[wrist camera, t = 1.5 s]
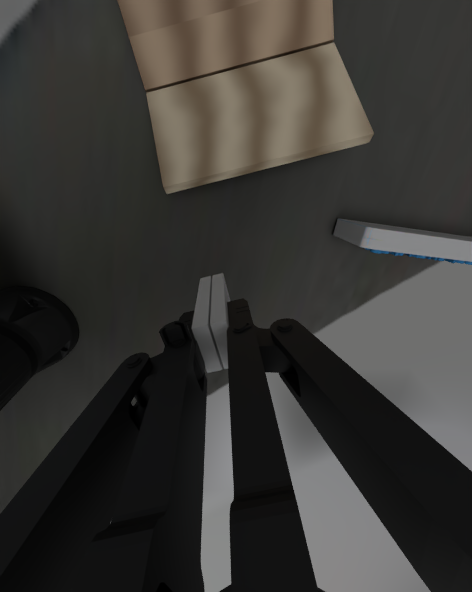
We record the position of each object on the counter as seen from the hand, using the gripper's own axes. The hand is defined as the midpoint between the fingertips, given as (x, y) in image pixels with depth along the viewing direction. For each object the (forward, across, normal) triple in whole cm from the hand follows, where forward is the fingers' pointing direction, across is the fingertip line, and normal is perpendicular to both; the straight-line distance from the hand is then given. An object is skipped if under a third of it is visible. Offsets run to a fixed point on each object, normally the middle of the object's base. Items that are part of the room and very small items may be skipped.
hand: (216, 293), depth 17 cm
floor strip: (+24, +8, +24) cm, 35 cm away
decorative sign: (+25, +34, -10) cm, 43 cm away
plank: (+20, +8, +13) cm, 25 cm away
